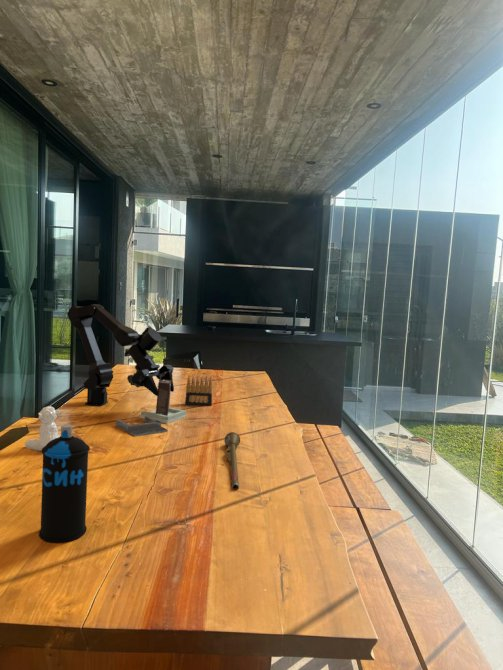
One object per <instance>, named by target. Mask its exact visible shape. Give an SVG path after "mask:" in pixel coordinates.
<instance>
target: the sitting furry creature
mask: <svg viewBox="0 0 503 670" xmlns="http://www.w3.org/2000/svg"><path fill="white" fill-rule="evenodd" d="M60 414H61V409H55V407H53V406H49V405H48V406H45V407H43V408H42V409H41V410H40V411H39V412H38V420H40V421H41V423H40V427H39V430H38V435H39V437H38V439H37V438H30V439H28V440H26V441H25V442H24V447H25V448H27V449H28V450H33V451H36V452H37V451H39V452H42V448H43V447H45V446H46V445H47V444H48V443H49V442H50V441H51V440H53V439H55V438H58V437H60V436H61V435H59V430H58V426H57V424H56V422H55V421H56V419H57V417H58V415H60Z"/></svg>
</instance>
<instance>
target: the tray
mask: <svg viewBox="0 0 503 670" xmlns="http://www.w3.org/2000/svg"><path fill="white" fill-rule="evenodd" d="M145 416H150V417H152V418H154V419H156V420H158V421H160V422H161V424H162V423H163V424H167V425H168V424H170V423H173V422H176V421H180V420H181V419H184V418H186V417H187V410H185V409H179V408H173V407H169V413H168V416H165V415H160V414H156V409H154V410H151V411H144V410H143V411H142V410H141V411H140V414H139V415H138V418H139V419H143V420H145Z"/></svg>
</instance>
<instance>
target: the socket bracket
mask: <svg viewBox="0 0 503 670" xmlns="http://www.w3.org/2000/svg"><path fill="white" fill-rule="evenodd" d="M115 426H116V427H118V428H119V429H121V430H122V431H124V432H126V433H127V434H129V435H131V436H133V437H140V436H147V435H153V434H161V433H167V432H169V431H168V429H167V428H166V427H163V426H162V422H160V421H158V420H156V419H154V418H152V417H150V416H145V419H144V422H143V423H136V424H130V423H127V422H126V421H124V420H122V419H120V418H118V419H115Z"/></svg>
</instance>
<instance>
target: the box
mask: <svg viewBox="0 0 503 670" xmlns="http://www.w3.org/2000/svg"><path fill="white" fill-rule="evenodd" d="M157 389H158V392H159V395H158V396H156V406H155V407H156V408H155V410H156V414H160V415H165V416H168V413H169V408H170V404H171V402H170V401H171V400H170V399H171V381H170V380H160V381H159V380H158V383H157Z"/></svg>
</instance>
